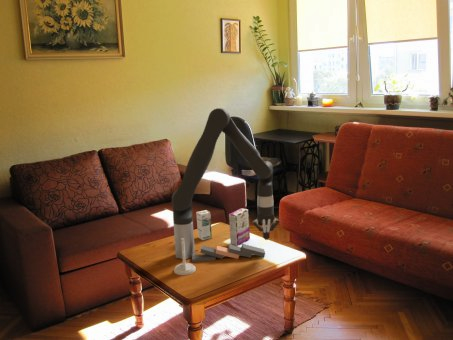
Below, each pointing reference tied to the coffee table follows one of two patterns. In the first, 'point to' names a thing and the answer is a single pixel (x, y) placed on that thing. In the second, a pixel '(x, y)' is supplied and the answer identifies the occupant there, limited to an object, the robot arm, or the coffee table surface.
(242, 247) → the domino
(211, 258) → the domino
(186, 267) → the white paper towel holder
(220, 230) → the coffee table surface
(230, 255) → the domino
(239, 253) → the domino
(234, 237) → the candy bar box
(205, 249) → the domino
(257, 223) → the robot arm
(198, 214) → the syrup box
